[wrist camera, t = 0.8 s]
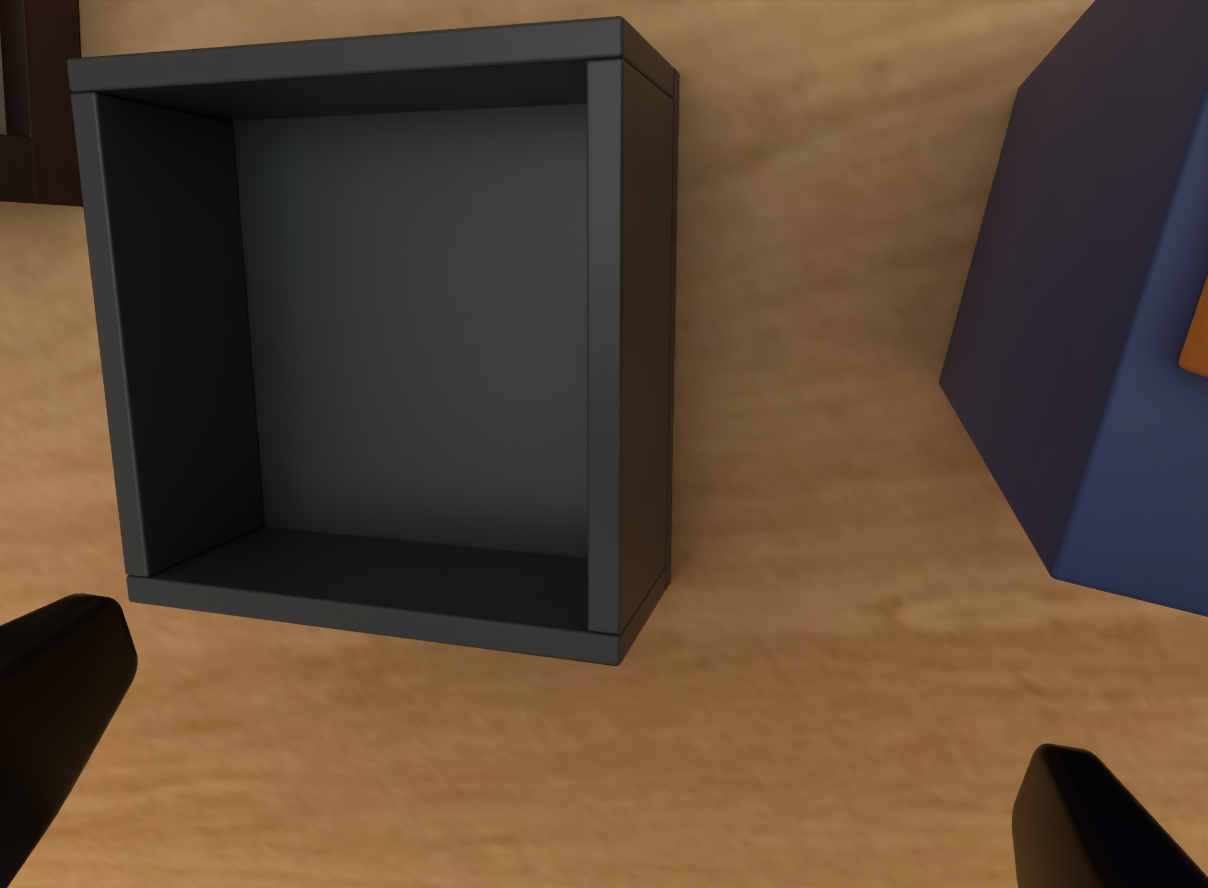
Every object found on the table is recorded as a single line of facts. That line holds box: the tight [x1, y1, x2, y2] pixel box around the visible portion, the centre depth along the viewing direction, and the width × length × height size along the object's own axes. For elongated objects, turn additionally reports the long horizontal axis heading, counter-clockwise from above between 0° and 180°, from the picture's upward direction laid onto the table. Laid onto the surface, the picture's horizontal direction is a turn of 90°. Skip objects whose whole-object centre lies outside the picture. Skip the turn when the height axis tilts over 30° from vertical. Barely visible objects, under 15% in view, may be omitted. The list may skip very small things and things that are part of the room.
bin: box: [67, 16, 679, 666], centre depth 21 cm, size 12×12×5 cm
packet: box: [939, 0, 1208, 617], centre depth 12 cm, size 6×4×14 cm
